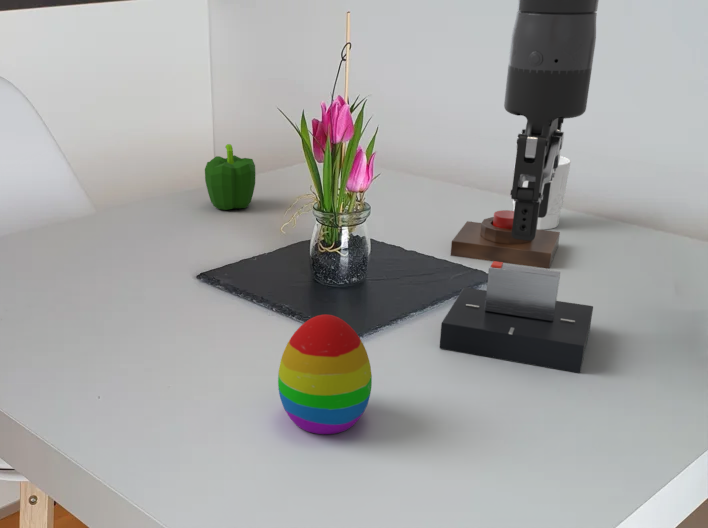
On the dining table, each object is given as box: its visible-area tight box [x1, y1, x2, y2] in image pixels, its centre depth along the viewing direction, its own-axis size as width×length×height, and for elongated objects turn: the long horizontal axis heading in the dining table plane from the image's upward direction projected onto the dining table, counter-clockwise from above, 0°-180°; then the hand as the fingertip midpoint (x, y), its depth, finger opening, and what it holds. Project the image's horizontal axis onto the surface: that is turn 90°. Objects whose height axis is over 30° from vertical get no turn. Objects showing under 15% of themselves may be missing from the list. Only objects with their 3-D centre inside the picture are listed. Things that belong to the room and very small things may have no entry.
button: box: [493, 209, 514, 229], centre depth 115 cm, size 4×4×2 cm
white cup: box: [512, 155, 572, 230], centre depth 126 cm, size 8×8×10 cm
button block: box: [450, 216, 561, 270], centre depth 116 cm, size 13×10×4 cm
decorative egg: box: [277, 313, 373, 435], centre depth 73 cm, size 8×8×10 cm
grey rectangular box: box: [485, 261, 561, 321], centre depth 88 cm, size 7×2×5 cm, turn 65°
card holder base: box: [439, 286, 594, 374], centre depth 89 cm, size 14×11×3 cm
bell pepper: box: [204, 143, 256, 211], centre depth 136 cm, size 8×8×10 cm
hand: (529, 227), depth 85 cm, fingers open, 8 cm apart
